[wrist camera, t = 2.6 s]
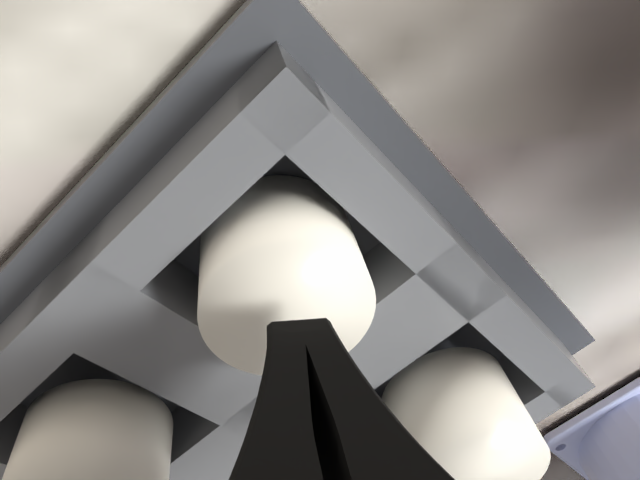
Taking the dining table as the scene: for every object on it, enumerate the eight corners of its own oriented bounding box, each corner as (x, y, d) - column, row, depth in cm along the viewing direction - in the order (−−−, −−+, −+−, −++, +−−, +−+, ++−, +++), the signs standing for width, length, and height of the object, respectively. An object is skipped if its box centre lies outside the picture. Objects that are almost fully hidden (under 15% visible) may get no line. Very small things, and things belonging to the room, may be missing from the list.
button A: (524, 384, 19) (574, 465, 16) (428, 447, 20) (459, 532, 17) (459, 326, 17) (505, 409, 14) (355, 401, 18) (379, 490, 15)
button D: (202, 416, 17) (199, 513, 14) (117, 484, 18) (100, 584, 16) (80, 357, 15) (51, 458, 12) (-7, 438, 16) (-50, 545, 13)
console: (583, 326, 22) (630, 383, 19) (273, 532, 27) (279, 597, 24) (273, -30, 13) (287, -9, 10) (-109, 384, 18) (-162, 465, 15)
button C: (379, 237, 16) (410, 305, 13) (276, 320, 17) (287, 398, 15) (277, 143, 14) (290, 204, 11) (168, 247, 15) (157, 324, 12)
